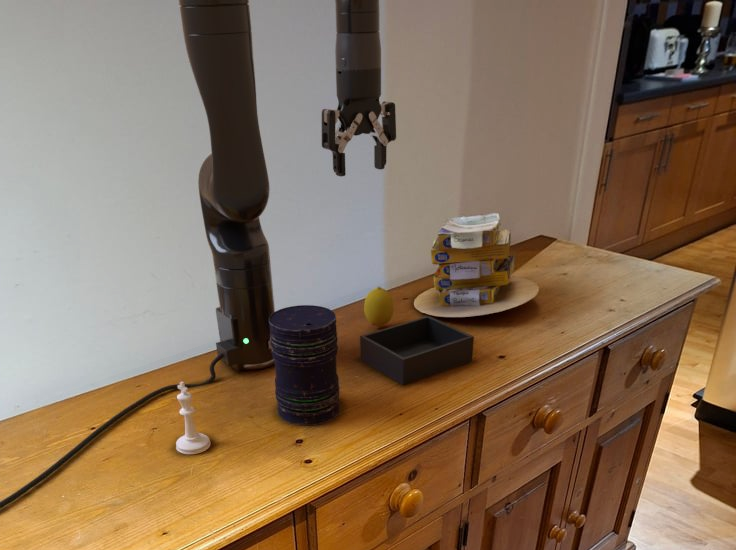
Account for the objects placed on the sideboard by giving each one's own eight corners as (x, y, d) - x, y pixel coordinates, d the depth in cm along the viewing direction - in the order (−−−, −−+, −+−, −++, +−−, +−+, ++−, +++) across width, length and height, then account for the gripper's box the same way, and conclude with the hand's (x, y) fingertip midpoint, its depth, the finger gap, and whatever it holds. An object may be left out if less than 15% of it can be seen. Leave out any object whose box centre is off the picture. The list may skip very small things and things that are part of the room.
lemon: (390, 334, 133) (391, 292, 128) (362, 332, 134) (361, 291, 129) (395, 323, 137) (395, 282, 132) (367, 321, 138) (366, 281, 133)
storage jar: (269, 402, 112) (260, 310, 103) (328, 390, 115) (323, 300, 106) (287, 431, 104) (278, 335, 95) (349, 418, 107) (346, 324, 98)
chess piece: (195, 433, 105) (184, 371, 99) (217, 443, 102) (207, 380, 96) (169, 447, 102) (155, 384, 96) (191, 458, 99) (179, 394, 93)
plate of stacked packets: (393, 315, 140) (394, 228, 130) (441, 277, 158) (445, 198, 148) (513, 336, 131) (524, 243, 121) (550, 293, 148) (562, 209, 138)
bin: (402, 385, 116) (403, 359, 113) (360, 360, 124) (359, 335, 121) (472, 361, 122) (474, 336, 120) (427, 339, 130) (428, 315, 128)
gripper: (379, 61, 122) (379, 163, 132) (309, 67, 116) (315, 174, 125) (406, 63, 117) (404, 170, 127) (334, 70, 111) (338, 181, 120)
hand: (360, 172), depth 126 cm, fingers open, 8 cm apart
